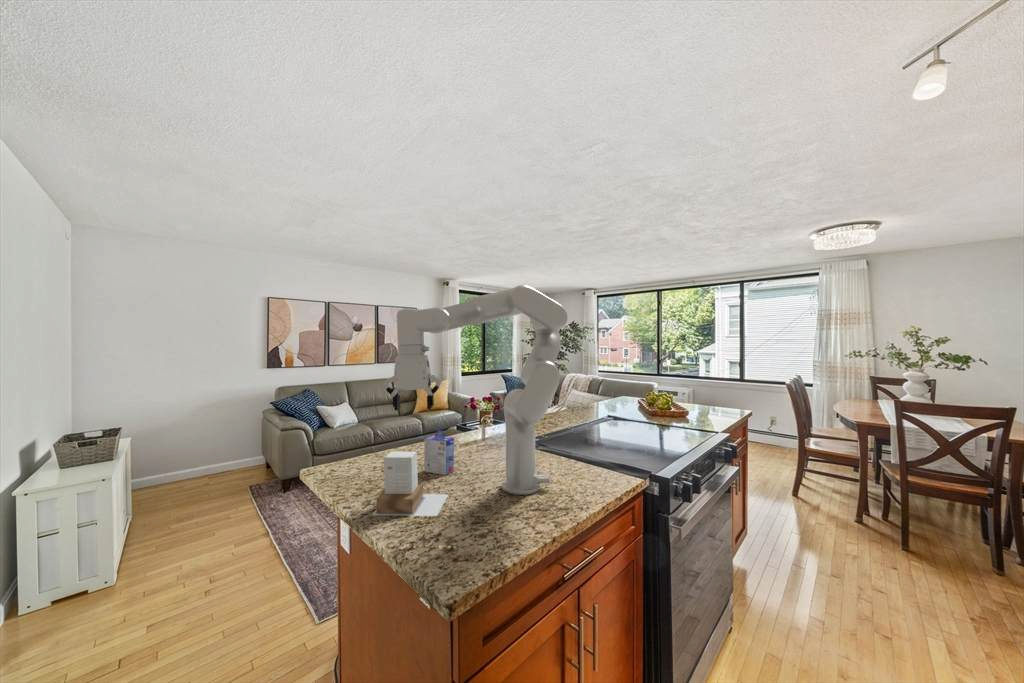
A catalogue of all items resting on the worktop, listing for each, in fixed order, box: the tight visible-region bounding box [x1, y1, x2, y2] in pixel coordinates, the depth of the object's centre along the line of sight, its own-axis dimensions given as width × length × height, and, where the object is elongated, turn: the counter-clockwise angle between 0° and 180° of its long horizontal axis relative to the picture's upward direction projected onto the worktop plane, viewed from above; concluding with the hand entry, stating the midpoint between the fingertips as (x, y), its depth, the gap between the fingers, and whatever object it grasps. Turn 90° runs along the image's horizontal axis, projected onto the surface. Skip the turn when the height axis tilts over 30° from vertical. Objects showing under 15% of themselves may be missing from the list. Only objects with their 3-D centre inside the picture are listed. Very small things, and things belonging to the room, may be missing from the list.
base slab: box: [375, 484, 424, 514], centre depth 107 cm, size 10×10×4 cm
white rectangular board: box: [371, 493, 449, 517], centre depth 107 cm, size 18×14×1 cm
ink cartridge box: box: [423, 429, 455, 476], centre depth 135 cm, size 10×6×14 cm, turn 66°
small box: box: [383, 451, 419, 494], centre depth 107 cm, size 8×6×10 cm
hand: (413, 409), depth 110 cm, fingers open, 9 cm apart
